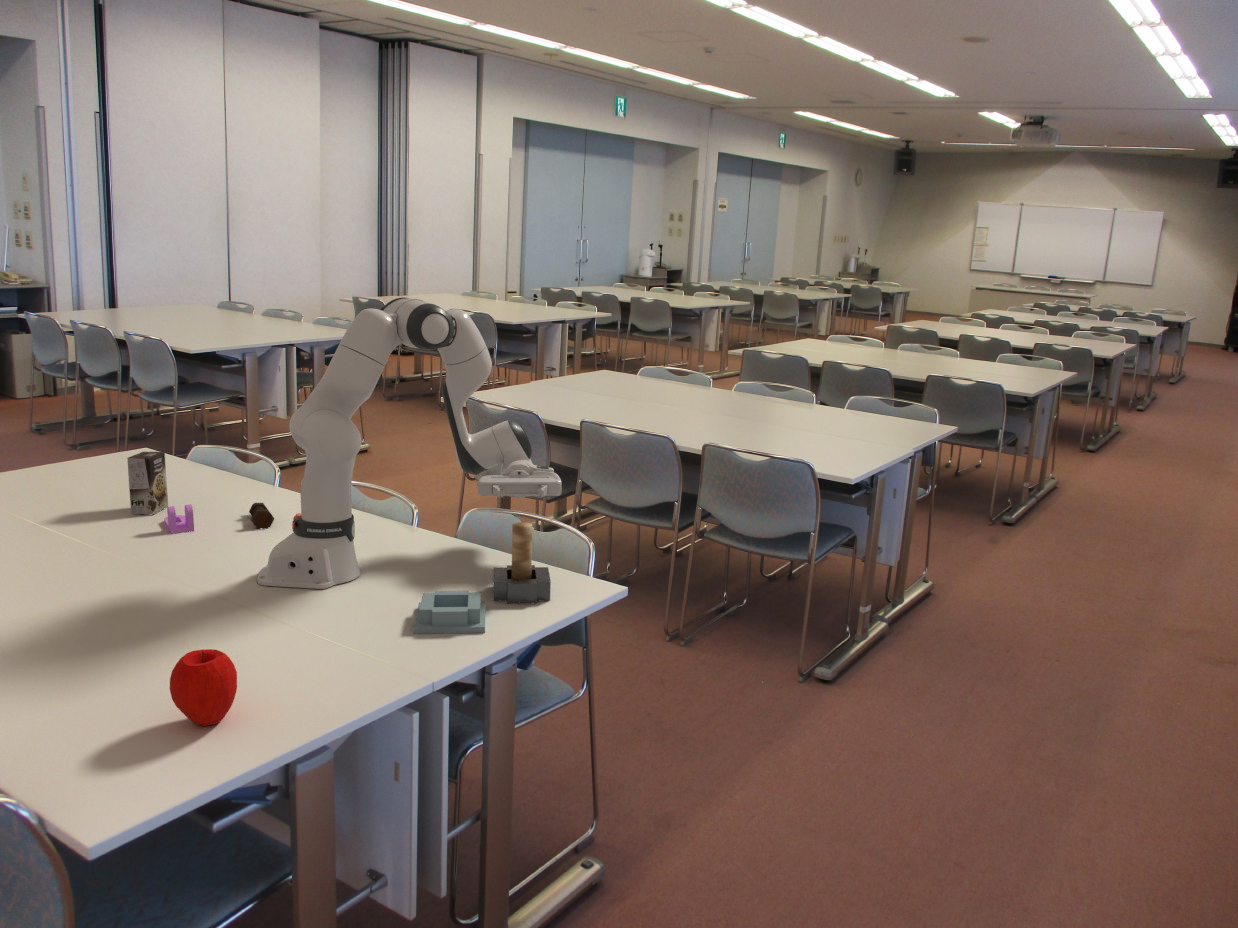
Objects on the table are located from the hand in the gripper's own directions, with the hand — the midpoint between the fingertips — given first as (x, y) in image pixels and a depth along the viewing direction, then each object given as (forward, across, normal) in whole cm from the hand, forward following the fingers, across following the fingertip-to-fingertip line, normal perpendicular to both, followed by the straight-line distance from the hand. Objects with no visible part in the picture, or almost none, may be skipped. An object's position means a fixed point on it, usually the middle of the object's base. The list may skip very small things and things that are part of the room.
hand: (520, 494), depth 222 cm
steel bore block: (+15, 0, +19) cm, 24 cm away
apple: (+71, -52, +19) cm, 90 cm away
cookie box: (-53, -101, +19) cm, 116 cm away
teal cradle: (+30, -15, +19) cm, 39 cm away
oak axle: (+15, 0, +19) cm, 24 cm away
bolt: (-43, -69, +19) cm, 84 cm away
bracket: (-38, -89, +19) cm, 99 cm away
